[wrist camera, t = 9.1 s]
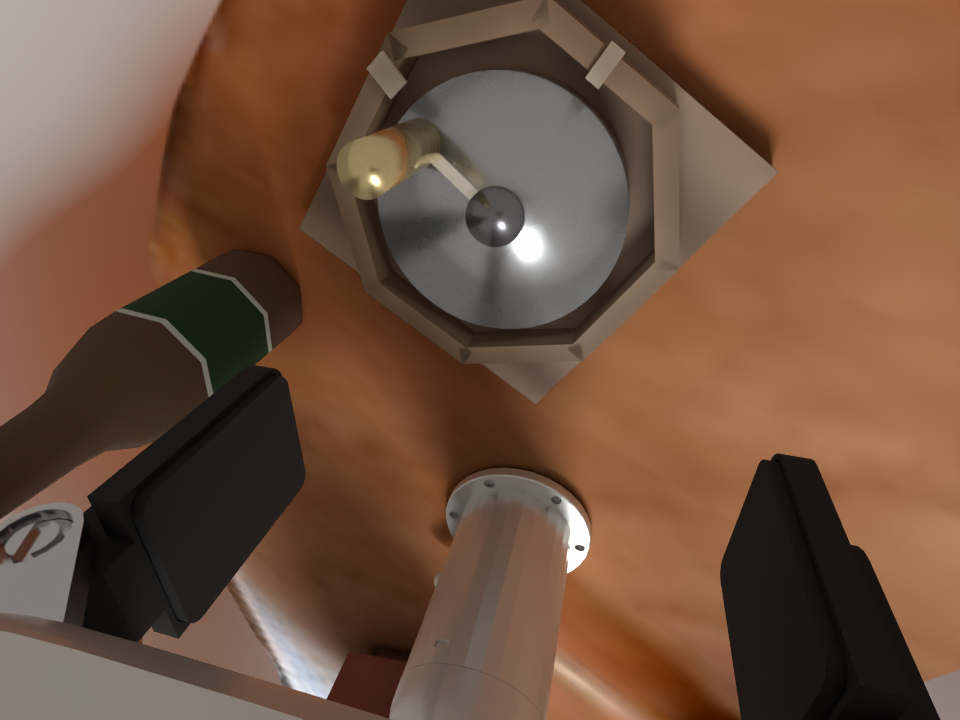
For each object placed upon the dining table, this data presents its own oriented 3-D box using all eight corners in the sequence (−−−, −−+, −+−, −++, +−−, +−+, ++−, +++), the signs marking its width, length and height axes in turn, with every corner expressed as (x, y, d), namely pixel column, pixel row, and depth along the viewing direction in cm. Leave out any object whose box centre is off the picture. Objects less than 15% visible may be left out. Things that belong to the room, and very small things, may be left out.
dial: (686, 204, 28) (701, 265, 21) (511, 353, 36) (477, 437, 28) (493, -1, 26) (432, -13, 18) (350, 206, 33) (265, 256, 26)
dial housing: (539, 392, 39) (529, 425, 36) (310, 222, 36) (278, 240, 33) (772, 165, 28) (789, 183, 25) (465, -101, 25) (439, -120, 22)
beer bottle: (292, 355, 43) (-3, 628, 24) (208, 304, 43) (-165, 539, 23) (320, 282, 39) (-14, 543, 19) (227, 225, 38) (-214, 431, 19)
